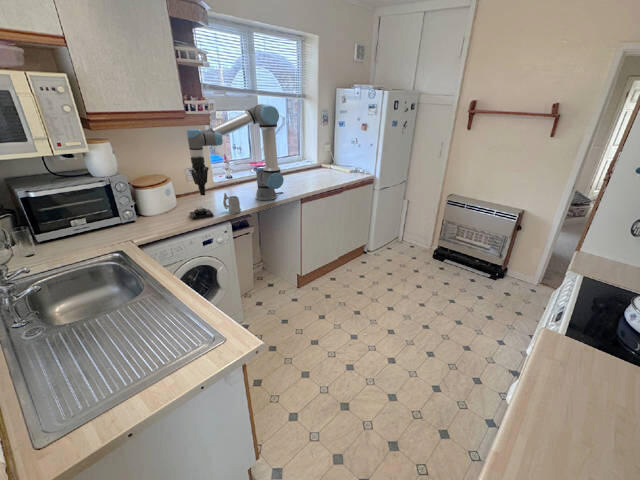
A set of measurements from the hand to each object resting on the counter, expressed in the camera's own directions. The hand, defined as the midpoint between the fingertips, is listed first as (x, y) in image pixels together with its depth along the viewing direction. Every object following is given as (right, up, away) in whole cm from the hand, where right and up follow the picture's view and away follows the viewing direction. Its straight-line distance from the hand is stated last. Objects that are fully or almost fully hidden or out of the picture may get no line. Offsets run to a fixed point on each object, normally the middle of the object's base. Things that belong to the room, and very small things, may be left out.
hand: (202, 194), depth 203 cm
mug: (+16, -10, +9) cm, 21 cm away
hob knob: (-1, -10, -1) cm, 10 cm away
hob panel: (-1, -14, 0) cm, 14 cm away
